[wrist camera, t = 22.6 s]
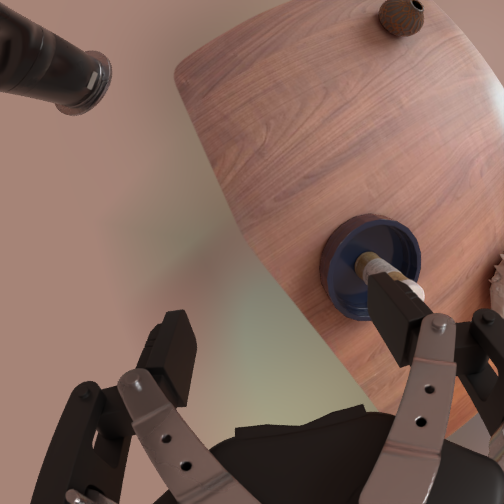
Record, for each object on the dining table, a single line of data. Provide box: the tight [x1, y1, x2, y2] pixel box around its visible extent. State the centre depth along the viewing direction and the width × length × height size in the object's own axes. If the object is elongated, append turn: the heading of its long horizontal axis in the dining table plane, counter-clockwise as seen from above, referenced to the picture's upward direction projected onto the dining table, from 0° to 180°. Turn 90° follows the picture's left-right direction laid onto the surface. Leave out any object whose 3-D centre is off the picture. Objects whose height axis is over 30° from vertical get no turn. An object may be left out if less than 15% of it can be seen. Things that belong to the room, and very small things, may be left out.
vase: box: [379, 0, 424, 37], centre depth 25 cm, size 7×7×9 cm
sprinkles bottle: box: [355, 252, 425, 302], centre depth 35 cm, size 5×5×14 cm
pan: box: [320, 214, 421, 321], centre depth 39 cm, size 16×16×4 cm
